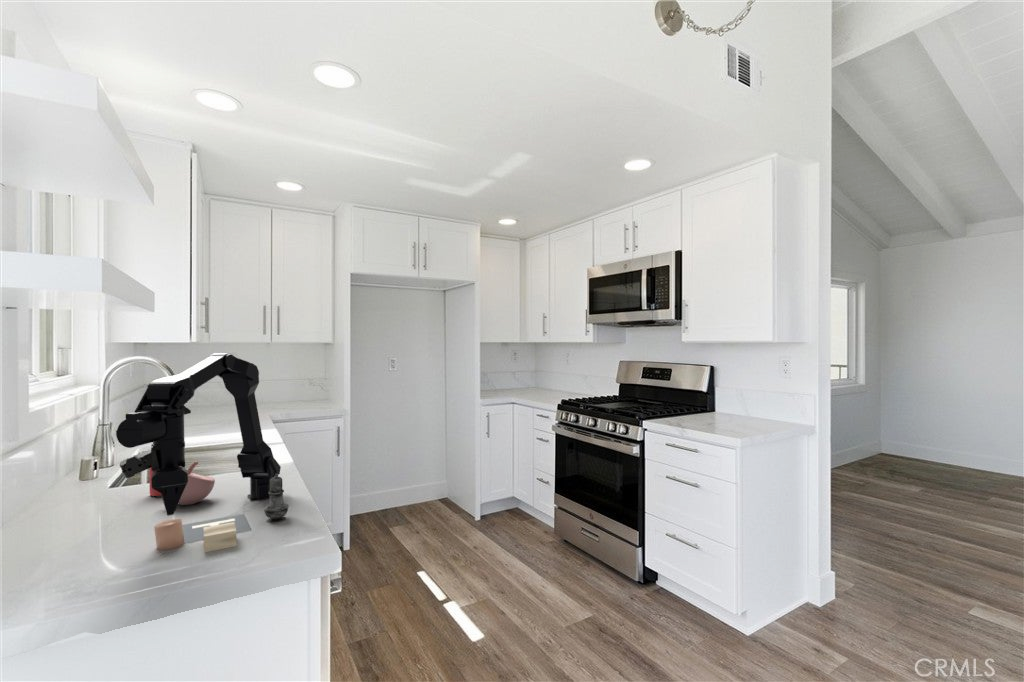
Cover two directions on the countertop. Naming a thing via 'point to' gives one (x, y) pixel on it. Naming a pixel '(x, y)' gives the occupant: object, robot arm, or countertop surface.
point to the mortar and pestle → (196, 487)
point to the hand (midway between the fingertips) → (170, 508)
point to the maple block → (219, 536)
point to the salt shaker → (276, 502)
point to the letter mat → (196, 530)
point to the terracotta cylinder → (169, 534)
